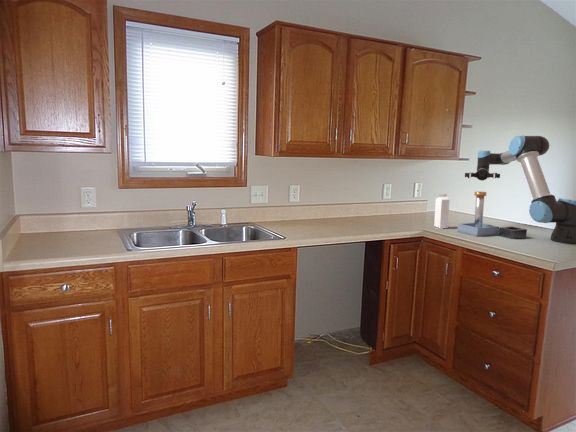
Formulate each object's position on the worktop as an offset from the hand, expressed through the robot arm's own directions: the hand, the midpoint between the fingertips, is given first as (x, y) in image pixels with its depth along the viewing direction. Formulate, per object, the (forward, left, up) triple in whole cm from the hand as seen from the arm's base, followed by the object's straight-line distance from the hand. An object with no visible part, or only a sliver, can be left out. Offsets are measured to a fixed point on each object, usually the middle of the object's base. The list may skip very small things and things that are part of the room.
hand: (481, 176), depth 259 cm
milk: (+14, +17, -34) cm, 41 cm away
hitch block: (-23, -3, -34) cm, 41 cm away
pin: (-7, +7, -33) cm, 35 cm away
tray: (-8, +8, -34) cm, 36 cm away
